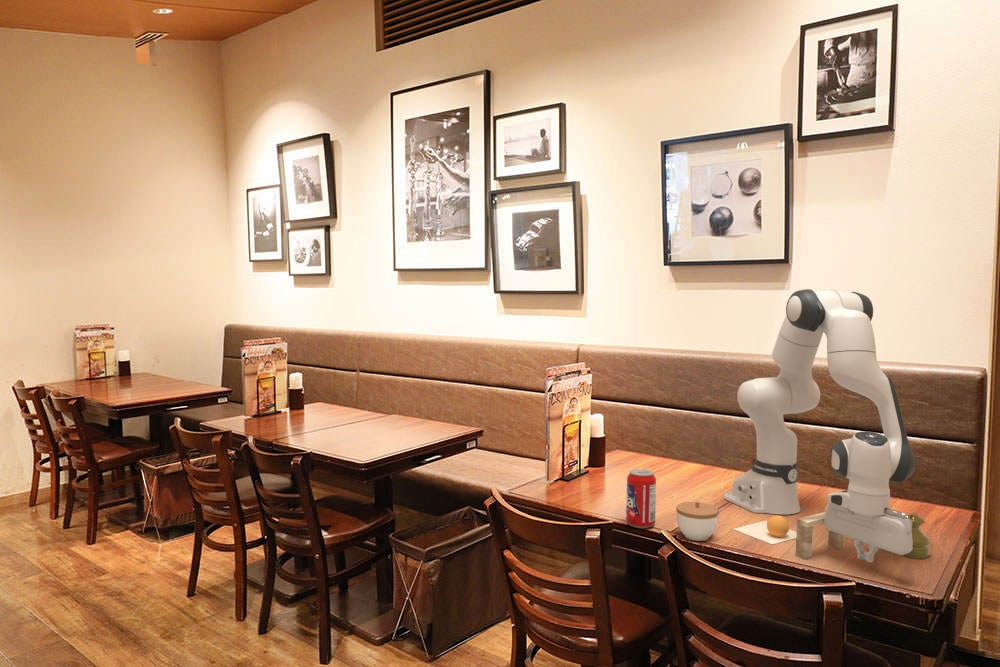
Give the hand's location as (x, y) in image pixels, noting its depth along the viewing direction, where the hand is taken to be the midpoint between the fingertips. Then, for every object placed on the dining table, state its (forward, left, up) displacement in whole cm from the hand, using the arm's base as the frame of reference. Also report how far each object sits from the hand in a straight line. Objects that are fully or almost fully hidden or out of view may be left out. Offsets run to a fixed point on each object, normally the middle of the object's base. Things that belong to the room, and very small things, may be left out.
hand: (865, 560), depth 171 cm
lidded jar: (-35, -19, -2) cm, 40 cm away
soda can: (-49, -26, -2) cm, 56 cm away
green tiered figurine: (0, +19, -2) cm, 19 cm away
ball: (-24, 0, +1) cm, 25 cm away
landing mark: (-27, 0, -2) cm, 28 cm away
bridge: (-12, 0, -2) cm, 12 cm away
